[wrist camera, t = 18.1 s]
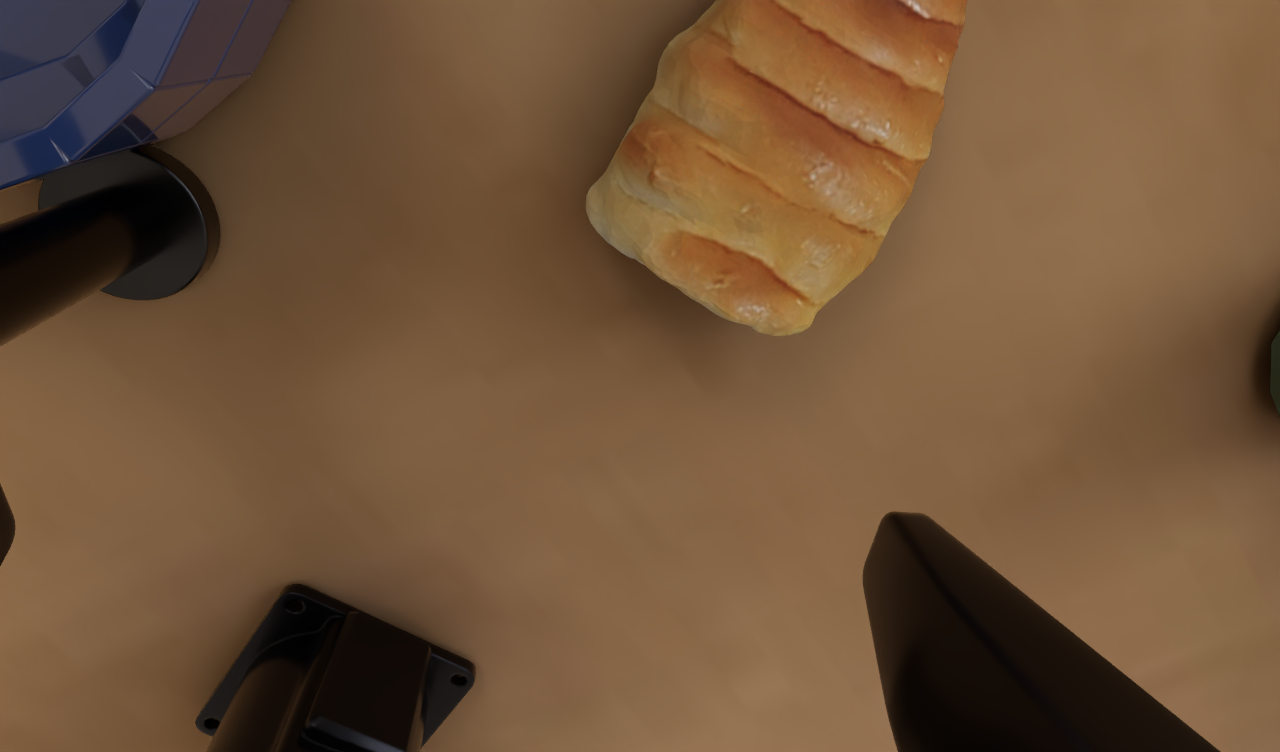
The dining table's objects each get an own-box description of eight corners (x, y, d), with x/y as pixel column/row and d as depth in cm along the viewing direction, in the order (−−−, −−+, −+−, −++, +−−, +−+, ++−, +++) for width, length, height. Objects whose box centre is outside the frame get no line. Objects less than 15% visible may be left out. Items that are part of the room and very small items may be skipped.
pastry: (770, -173, 16) (826, -224, 13) (1008, 1, 18) (1113, -3, 15) (567, 220, 19) (569, 263, 16) (789, 334, 21) (833, 396, 18)
